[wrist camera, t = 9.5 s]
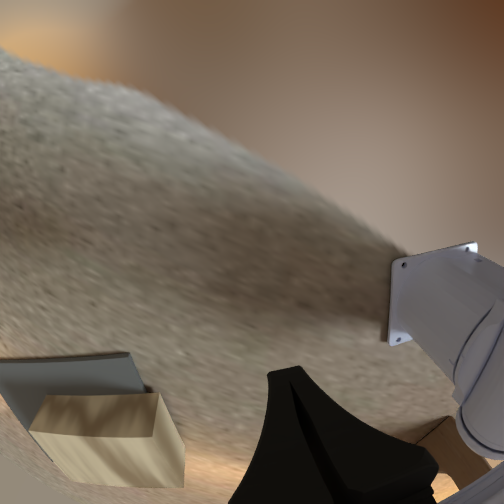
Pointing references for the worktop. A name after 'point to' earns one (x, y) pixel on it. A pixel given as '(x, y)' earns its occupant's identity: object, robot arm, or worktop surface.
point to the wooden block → (454, 454)
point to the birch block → (112, 439)
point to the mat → (65, 381)
